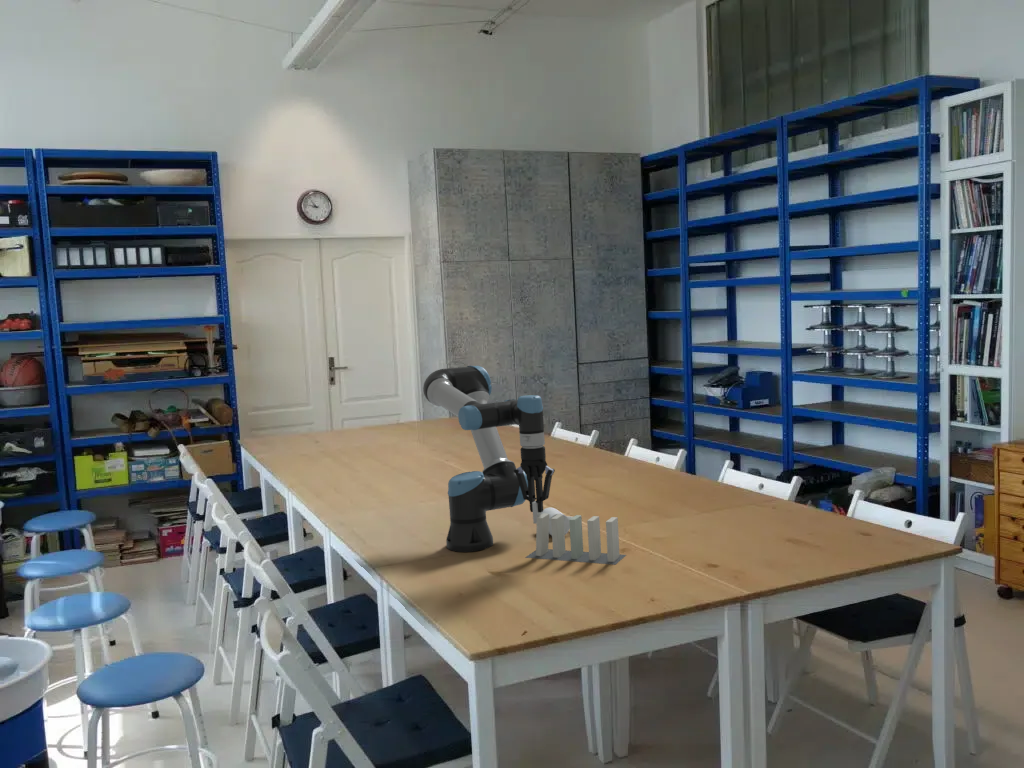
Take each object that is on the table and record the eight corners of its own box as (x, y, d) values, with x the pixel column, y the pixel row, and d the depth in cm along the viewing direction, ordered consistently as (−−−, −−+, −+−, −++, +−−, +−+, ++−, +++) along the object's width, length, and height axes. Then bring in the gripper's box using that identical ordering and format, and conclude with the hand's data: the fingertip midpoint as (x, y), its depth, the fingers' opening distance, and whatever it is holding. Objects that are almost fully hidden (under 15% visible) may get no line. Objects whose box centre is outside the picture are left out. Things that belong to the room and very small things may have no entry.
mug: (547, 539, 297) (546, 515, 297) (538, 532, 307) (537, 508, 306) (582, 534, 301) (581, 510, 300) (572, 527, 310) (571, 504, 309)
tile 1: (535, 555, 278) (536, 517, 276) (542, 550, 283) (543, 512, 281) (541, 556, 277) (542, 518, 276) (548, 551, 282) (549, 513, 281)
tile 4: (589, 560, 271) (587, 520, 269) (595, 554, 275) (593, 516, 274) (595, 560, 270) (592, 520, 269) (601, 555, 275) (599, 516, 273)
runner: (525, 558, 277) (524, 557, 277) (538, 549, 286) (538, 548, 286) (615, 565, 265) (615, 564, 265) (626, 555, 274) (626, 554, 274)
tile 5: (607, 561, 268) (605, 521, 267) (613, 556, 273) (611, 517, 272) (613, 562, 267) (611, 521, 266) (619, 556, 272) (617, 517, 271)
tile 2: (553, 557, 276) (551, 518, 274) (560, 552, 280) (558, 514, 279) (558, 557, 275) (556, 518, 274) (565, 552, 280) (563, 514, 278)
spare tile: (571, 558, 273) (569, 519, 272) (577, 553, 278) (575, 515, 277) (577, 559, 272) (574, 519, 271) (583, 554, 277) (581, 515, 276)
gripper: (508, 448, 277) (513, 524, 279) (547, 448, 271) (552, 526, 273) (518, 444, 283) (523, 518, 286) (557, 444, 278) (561, 520, 280)
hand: (537, 522), depth 279 cm, fingers closed
